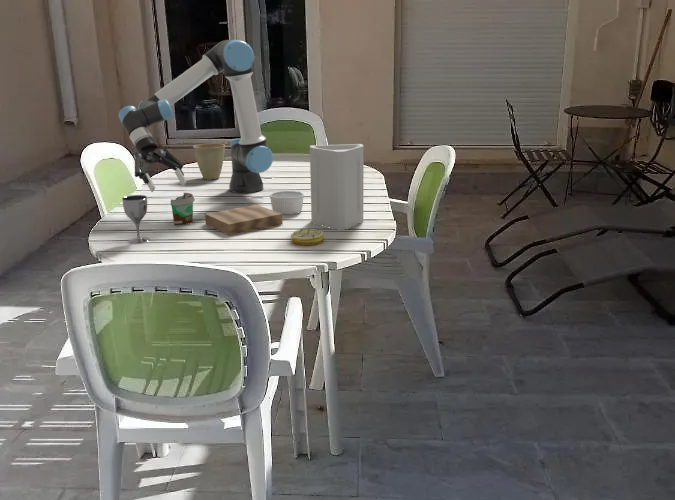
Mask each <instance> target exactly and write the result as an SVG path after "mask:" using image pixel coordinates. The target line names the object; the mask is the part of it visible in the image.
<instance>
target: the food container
mask: <svg viewBox="0 0 675 500" xmlns="http://www.w3.org/2000/svg"><path fill="white" fill-rule="evenodd" d="M195 201H196V200H195V197H194V194H192V192H191V193H190V192H183V194H182V195H181V196H178V197H176V199H174V198H173V199H170V206H171V212H172V219H173V226H177V227H178V226H185V225H186V226H187V225H190V224H192V223H193V222H194V202H195Z"/></svg>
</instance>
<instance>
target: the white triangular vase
mask: <svg viewBox="0 0 675 500" xmlns="http://www.w3.org/2000/svg"><path fill="white" fill-rule="evenodd" d="M364 148H365V147H364V144H363V143H354V144H353V143H352V144H351V143H349V144H348V143H347V144H346V143H345V144H313V145H311V144H310V145H309V165H310V166H309V168H310V170H309V171H310V172H309V173H310V174H309V175H310V206H311V207H310V208H311V210H310V211H311V212H310V214H311V215H310V216H311V218H310V219H311V220H312V221H311V223H312V224H313V223H315V224H314V225H316V224H318V225H317V226H320V225H323V226H326V227H325V228H327V227H330V228H329V229H331V228H333V229H332V230H334V229H337V230H336V231H346V230H348V229H350V228H353V227H354V225H355V226H357V225H359V224H361V223H363V222H364V170H365V169H364V165H365V164H364ZM362 221H363V222H362ZM360 222H361V223H360ZM358 223H359V224H358ZM356 224H357V225H356ZM323 226H322V227H323ZM352 226H353V227H352ZM347 228H348V229H347ZM345 229H346V230H345Z"/></svg>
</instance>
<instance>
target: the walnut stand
mask: <svg viewBox="0 0 675 500" xmlns="http://www.w3.org/2000/svg"><path fill="white" fill-rule="evenodd" d="M204 218H205V219H204V222H205V223H204V224H205V225H206V226H209V227H210V228H212V229H215V230H216V231H219V232H221V233H224V234H225V235H228V236H232V235H238V234H242V233H247V232H253V231H258V230H262V229H267V227H268V228H271V227H272V226H273V227H277V226H276V225H278V226H282V225H283V223H284V222H283V214H281V213H278V212H276V211H273V209H270V208H267V207H264V206H262V205H259V204H253V205H248V206H241V207H235V208H230V209H225V210H218V211H214V212H208V213H204ZM281 224H282V225H281ZM273 227H272V228H273Z"/></svg>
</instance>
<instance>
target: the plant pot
mask: <svg viewBox="0 0 675 500" xmlns="http://www.w3.org/2000/svg"><path fill="white" fill-rule="evenodd" d="M192 147H193V152H194V156H195V160H196V163H197V165H198V169H199V171H200V174H201V176H202V178H203V180H206V179H207V181H212V180H211V179H215V180H218V179H217V178H219V179H220V177H221V173H222V171H223V170H222V169H223V165H224V159H225V151H226V145H225V144H224V143H214V142H213V143H211V142H210V143H200V144H195V145H193V146H192Z"/></svg>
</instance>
